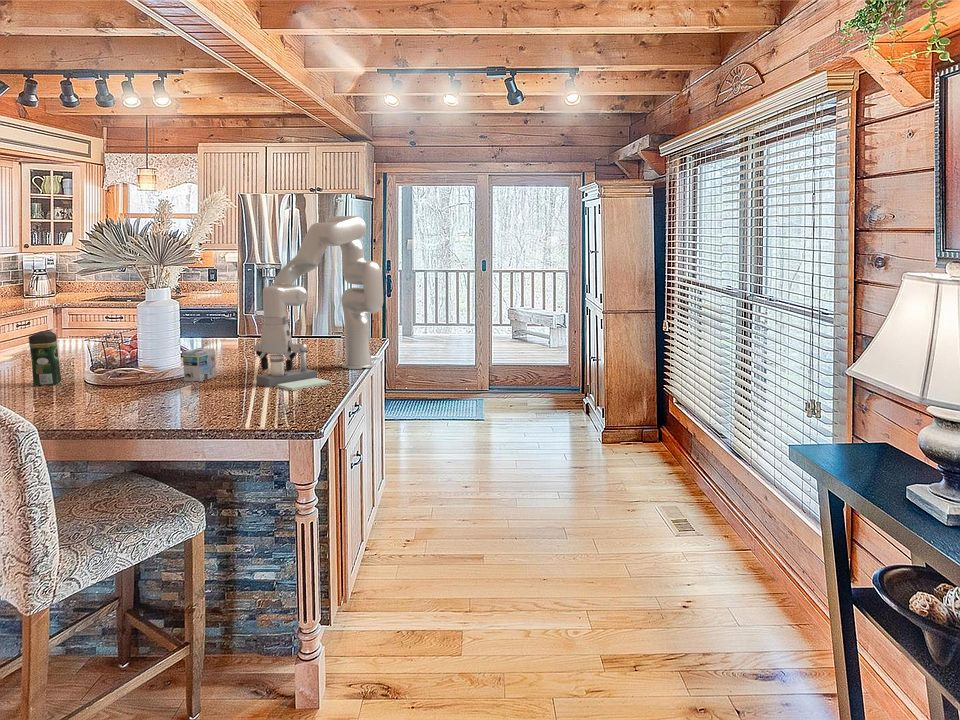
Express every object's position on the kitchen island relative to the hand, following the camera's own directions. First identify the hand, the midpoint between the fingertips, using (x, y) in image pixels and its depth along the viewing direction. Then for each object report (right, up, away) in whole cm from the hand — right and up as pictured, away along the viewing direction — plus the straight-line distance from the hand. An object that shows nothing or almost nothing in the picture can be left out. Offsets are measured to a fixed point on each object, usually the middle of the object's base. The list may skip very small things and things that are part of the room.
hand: (277, 369), depth 255 cm
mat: (+11, -5, -3) cm, 12 cm away
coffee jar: (-80, -5, -3) cm, 80 cm away
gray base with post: (+3, -4, +4) cm, 6 cm away
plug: (0, -5, +1) cm, 5 cm away
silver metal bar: (-1, +7, +9) cm, 11 cm away
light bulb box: (-30, -4, +8) cm, 31 cm away
